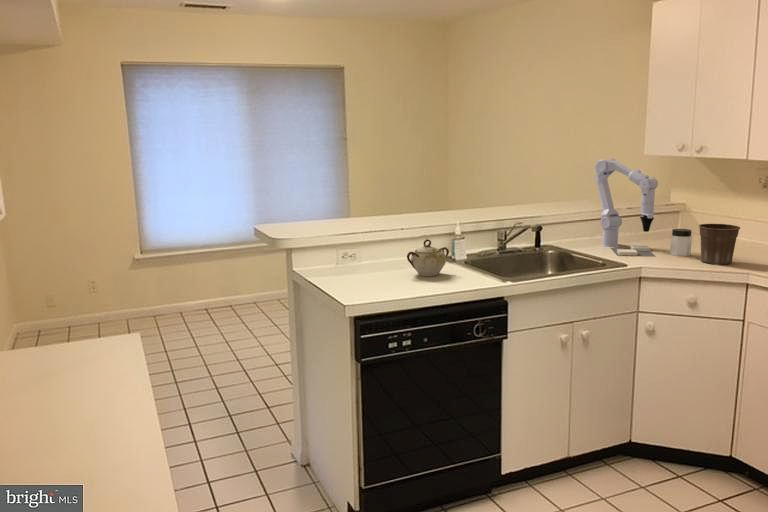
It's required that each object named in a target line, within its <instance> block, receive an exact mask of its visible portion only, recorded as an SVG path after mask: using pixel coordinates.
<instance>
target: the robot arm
mask: <svg viewBox="0 0 768 512" xmlns="http://www.w3.org/2000/svg"><path fill="white" fill-rule="evenodd" d="M594 169H595V177H594V178H595V183H596V184H595V185H596V188H597V191H598V196H599V200H600V204H601V208H602V212H601V213H600V226H601V228H602V232H603V233H602V243H603V244H601V243H600V245H601V246H602V247H604V248H620V245H619V244H618V243H619V229H620V227H621V226H622V223H623V222H622V221H623V219H622V217H621V216H620V213H619V211H618V210H616V209H615V207H614V201H613V197H612V194H611V189H610V185H609V180H608V178H609V177H610V176H611V175H612V174H613V173H614V172H615V171H616V172H618V173H621V174H622V175H624V176H626V177H627V178H628V180H629V181H630V182H632V183H633V184H636V185H637V186H639V188H640V190H641V202H640V213H639V214H640V215H642V216H639V218H640V221H641V223H642V230H643V232H645V233H646V232H647V233H648V232H650V229H651V225H652V223H653V220H654V215H657V212H656V211H654V210H655V196H656V189H657V187H658V186H659V185H658V184H659V181H658V179H656V178H655V177H654V176H653V177H649V175H647V174H644V173H642V171H641V170H640V169H637V170H635V169H634V170H632V169H631V168H629V167H628V166H626V165H624V164H623V163H622V162H620V161H619V160H616V159H614V158H609V159H608V158H607V159H599V160H598V161H597V162H596V164H595V165H594Z"/></svg>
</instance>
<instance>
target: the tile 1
mask: <svg viewBox="0 0 768 512" xmlns="http://www.w3.org/2000/svg"><path fill="white" fill-rule="evenodd" d="M617 253H618V254H619V255H628V256H627V257H639V256H638V252H637V251H636V250H629V249H617Z"/></svg>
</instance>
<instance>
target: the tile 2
mask: <svg viewBox="0 0 768 512" xmlns="http://www.w3.org/2000/svg"><path fill="white" fill-rule="evenodd" d="M629 248H630V249H631V250H636V251H650V252H651V247H650V246H648V245H629Z"/></svg>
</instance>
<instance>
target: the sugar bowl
mask: <svg viewBox="0 0 768 512" xmlns="http://www.w3.org/2000/svg"><path fill="white" fill-rule="evenodd" d="M427 242H428V244H426V243H427ZM431 245H432V241H431V240H430V239H429V238H426V239H425V240H424V241H423V246H422V247H420V248H418V249H415V250H414V251H409V252H408V253H407V255H406V260H407V261H408V263H409V264H410V265H411V266H412V268H413V269H414V270H415V271H416V272H417V274H418V275H419V276H421V277H436V276H439V274H440V273H441V271H442V269H443V268H444V267H445V265H446V263H447V258H448V257H449V254H450V251H449V248H447V247H446V246H444V247H443V246H442V247H440V248H437V247H434V246H431ZM445 251H446V254H445Z"/></svg>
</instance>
